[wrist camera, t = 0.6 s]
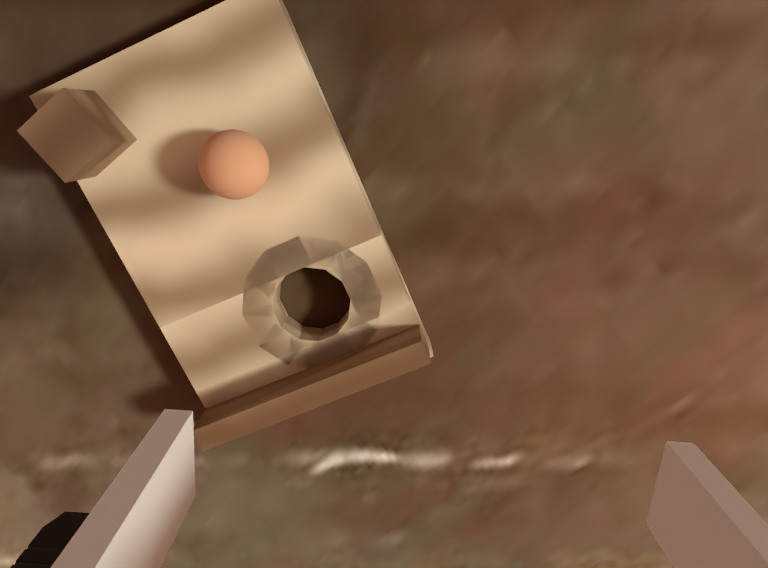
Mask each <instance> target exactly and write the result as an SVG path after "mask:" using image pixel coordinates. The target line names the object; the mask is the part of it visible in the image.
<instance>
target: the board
mask: <svg viewBox="0 0 768 568" xmlns="http://www.w3.org/2000/svg"><path fill="white" fill-rule="evenodd" d="M61 88H69V89H81V90H93V91H95V92H96V93H97V94H98V95H99V96H100V97H101V99H102V100H103V101H104V102H105V103H106V104H107V105H108V107H109V108H110V109H111V110H112V111H113V112H114V113H115V115H116V116H117V117H118V118H119V119H120V120H121V121H122V123H123V124H124V125H125V126H126V127H127V128H128V129H129V131H130V132H131V133H132V134H133V135H134V136H135V138H136V139H137V140H136V141H135V142H134V143H133V144H132V145H131V146H130V147H129V148H127V149H126V150H125V151H124V152H123V153H122V154H121V155H120V156H118V157H117V158H116V159H115V160H114V161H113V162H112V163H111V164H109V165H108V166H107V167H106V168H105V169H104V170H103V171H102V172H100V173H99V174H98V175H97V176H96V177H91V178H86V179H82V180H77V182H78V184H79V185H80V187H81V189H82V191H83V192H84V194H85V196H86V198H87V199H88V201H89V203H90V205H91V207H92V208H93V210H94V212H95V214H96V215H97V217H98V219H99V221H100V223H101V224H102V226H103V228H104V230H105V231H106V233H107V235H108V237H109V239H110V240H111V242H112V244H113V246H114V247H115V249H116V251H117V253H118V254H119V256H120V258H121V260H122V262H123V263H124V265H125V267H126V269H127V270H128V272H129V274H130V276H131V278H132V279H133V281H134V283H135V285H136V286H137V288H138V290H139V292H140V294H141V295H142V297H143V299H144V301H145V302H146V304H147V306H148V308H149V309H150V311H151V313H152V315H153V317H154V318H155V320H156V322H157V324H158V325H159V327H160V329H161V331H162V333H163V334H164V336H165V338H166V340H167V341H168V343H169V345H170V347H171V349H172V350H173V352H174V354H175V356H176V357H177V359H178V361H179V363H180V365H181V366H182V368H183V370H184V372H185V373H186V375H187V377H188V379H189V380H190V382H191V384H192V386H193V388H194V389H195V391H196V393H197V395H198V396H199V398H200V400H201V402H202V404H203V405H204V407H205V411H204V412H203V414H202V415H201V417H200V418H199V420H198V422H197V423H196V425H195V426H194V428H193V430H194V437H195V438H196V440H197V442H198V444H199V445H200V447H201V449H202V450H203V451H206V450H208V449H211V448H213V447H216V446H219V445H221V444H224V443H226V442H229V441H232V440H234V439H237V438H239V437H242V436H244V435H247V434H250V433H252V432H255V431H257V430H260V429H263V428H265V427H268V426H270V425H273V424H276V423H278V422H281V421H283V420H286V419H288V418H291V417H294V416H296V415H299V414H301V413H304V412H307V411H309V410H312V409H314V408H317V407H320V406H322V405H325V404H327V403H330V402H332V401H335V400H338V399H340V398H343V397H345V396H348V395H351V394H353V393H356V392H358V391H361V390H364V389H366V388H369V387H371V386H374V385H376V384H379V383H382V382H384V381H387V380H389V379H392V378H395V377H397V376H400V375H402V374H405V373H408V372H410V371H413V370H415V369H418V368H420V367H423V366H426V365H428V364H431V357H433V352H432V347H431V342H430V340H429V338H428V335H427V333H426V331H425V328H424V326H423V324H422V321H421V319H420V317H419V314H418V312H417V310H416V308H415V305H414V303H413V301H412V298H411V296H410V294H409V291H408V289H407V287H406V284H405V282H404V280H403V277H402V275H401V273H400V271H399V268H398V266H397V264H396V261H395V259H394V257H393V254H392V252H391V250H390V247H389V245H388V243H387V241H386V238H385V236H384V234H383V231H382V229H381V227H380V224H379V222H378V220H377V217H376V215H375V213H374V211H373V208H372V206H371V204H370V201H369V199H368V197H367V194H366V192H365V190H364V187H363V185H362V183H361V181H360V178H359V176H358V174H357V171H356V169H355V167H354V164H353V162H352V160H351V157H350V155H349V153H348V151H347V148H346V146H345V144H344V141H343V139H342V137H341V134H340V132H339V130H338V127H337V125H336V123H335V120H334V118H333V116H332V114H331V111H330V109H329V107H328V104H327V102H326V100H325V97H324V95H323V93H322V90H321V88H320V86H319V84H318V81H317V79H316V77H315V74H314V72H313V70H312V67H311V65H310V63H309V60H308V58H307V56H306V54H305V51H304V49H303V47H302V44H301V42H300V40H299V37H298V35H297V33H296V30H295V28H294V26H293V24H292V21H291V19H290V17H289V14H288V12H287V10H286V7H285V5H284V3H283V0H225V1H223V2H221V3H219V4H217V5H215V6H213V7H211V8H209V9H207V10H205V11H203V12H201V13H198V14H196V15H194V16H192V17H190V18H188V19H186V20H184V21H182V22H180V23H178V24H176V25H174V26H172V27H170V28H168V29H166V30H164V31H161V32H159V33H157V34H155V35H153V36H151V37H149V38H147V39H145V40H143V41H141V42H139V43H137V44H135V45H133V46H131V47H129V48H126V49H124V50H122V51H120V52H118V53H116V54H114V55H112V56H110V57H108V58H106V59H104V60H102V61H100V62H98V63H96V64H94V65H91V66H89V67H87V68H85V69H83V70H81V71H79V72H77V73H75V74H73V75H71V76H69V77H67V78H65V79H63V80H61V81H59V82H56V83H54V84H52V85H50V86H48V87H46V88H44V89H42V90H40V91H38V92H36V93H34V94H32V95H30V96H29V97H30V98H31V100H32V102H33V104H34V105H35V107H36V109H37V111H38V110H39V109H40V108H41V107H42V106H43V105H45V104H46V103H47V102H48V101H49V100H50V99H51V98H52V97H53V96H54V95H55V94H56V93H57V92H58V91H59V90H60V89H61ZM229 129H235V130H241V131H244V132H247V133H249V134H251V135H252V136H254V137H255V138H256V139H257V140H258V141H259V142H260V143H261V144H262V145H263V147H264V148H265V150H266V153H267V155H268V159H269V174H268V177H267V180H266V182H265V184H264V185H263V187H262V188H261V189H260V190H259V191H258V192H257V193H255V194H254V195H252V196H250V197H247V198H244V199H238V200H233V199H227V198H223V197H221V196H219V195H217V194H215V193H214V192H213V191H211V190H210V189H209V188H208V187H207V186H206V184H205V183H204V181H203V179H202V177H201V175H200V172H199V166H198V159H199V154H200V151H201V148H202V146H203V145H204V143H205V142H206V141H207V140H208V139H209V138H210V137H211V136H212V135H214V134H216V133H218V132H220V131H223V130H229ZM304 267H307V268H316V269H324V270H326V271H328V272H329V273H331V274H332V275H333V276H335V277H336V278H338V279H339V280H340V281H342V283H343V285H344V287H345V289H346V291H347V293H348V295H349V298H350V309H349V310H348V311H347V313H346V314H345V315H344V317H343V318H342V319H341V320H340V322H337V323H335V324H332V325H330V326H327V327H325V328H315V327H306V326H303V325H301V324H300V323H298V322H297V321H295V320H294V319H293V318H291V317H290V316H288V314H287V312H286V310H285V308H284V306H283V304H282V302H281V300H280V289H281V281H282V280H283V278H284V277H285V275H287V274H289V273H292V272H294V271H297V270H299V269H301V268H304Z"/></svg>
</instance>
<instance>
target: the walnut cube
mask: <svg viewBox="0 0 768 568" xmlns="http://www.w3.org/2000/svg"><path fill="white" fill-rule="evenodd" d="M17 131H18V132H19V134H20V135H21V136H22V137H23V138H24V139H25V140H26V141H27V142H28V143H29V144H30V145H31V147H32V148H33V149H34V150H35V151H36V152H37V153H38V154H39V155H40V156H41V157H42V159H43V160H44V161H45V162H46V163H47V164H48V165H49V166H50V167H51V168H52V169H53V170H54V172H55V173H56V174H57V175H58V176H59V177H60V178H61V179H62V180H63V181H64V182H65V183H67V182H72V181H77V180H82V179H86V178H91V177H96V176H97V175H98V174H99V173H100V172H102V171H103V170H104V169H105V168H106V167H107V166H108V165H109V164H111V163H112V162H113V161H114V160H115V159H116V158H117V157H118V156H120V155H121V154H122V153H123V152H124V151H125V150H126V149H127V148H129V147H130V146H131V145H132V144H133V143H134V142H135V141H136V140H137V139H136V138H135V136H134V135H133V134H132V133H131V132H130V131H129V129H128V128H127V127H126V126H125V125H124V124H123V123H122V121H121V120H120V119H119V118H118V117H117V116H116V115H115V113H114V112H113V111H112V110H111V109H110V108H109V107H108V105H107V104H106V103H105V102H104V101H103V100H102V99H101V97H100V96H99V95H98V94H97V93H96V92H95V91H93V90H81V89H69V88H61V89H60V90H59V91H58V92H57V93H56V94H55V95H54V96H53V97H52V98H51V99H50V100H49V101H48V102H47V103H46V104H45V105H43V106H42V107H41V108H40V109H39V110H38V111H37V112H36V113H35V114H34V115H33V116H32V117H31V118H30V119H29V120H28V121H27V122H25V123H24V124H23V125H22V126H21V127H20V128H19V129H18V130H17Z"/></svg>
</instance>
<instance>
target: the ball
mask: <svg viewBox="0 0 768 568" xmlns="http://www.w3.org/2000/svg"><path fill="white" fill-rule="evenodd" d="M198 166H199V172H200V175H201V177H202V179H203V181H204V183H205V184H206V186H207V187H208V188H209V189H210V190H211V191H213V192H214V193H215V194H217V195H219V196H221V197H223V198H227V199H233V200H238V199H244V198H247V197H250V196H252V195H254V194H255V193H257V192H258V191H259V190H260V189H261V188H262V187H263V185H264V184H265V182H266V180H267V177H268V174H269V159H268V155H267V153H266V150H265V148H264V147H263V145H262V144H261V143H260V142H259V141H258V140H257V139H256V138H255V137H254V136H252V135H251V134H249V133H247V132H244V131H241V130H235V129H229V130H223V131H220V132H218V133H216V134H214V135H212V136H211V137H210V138H209V139H208V140H207V141H206V142H205V143H204V145H203V146H202V148H201V151H200V154H199V159H198Z"/></svg>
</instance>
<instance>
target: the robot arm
mask: <svg viewBox="0 0 768 568" xmlns="http://www.w3.org/2000/svg"><path fill="white" fill-rule="evenodd" d="M194 498H195V466H194V430H193V411H189V410H173V409H164V411H163V412H162V414H161V415H160V416H159V418H158V419H157V421H156V422H155V423H154V425H153V426H152V428H151V429H150V430H149V432H148V433H147V434H146V436H145V437H144V439H143V440H142V441H141V443H140V444H139V446H138V447H137V448H136V450H135V451H134V453H133V454H132V455H131V457H130V458H129V459H128V461H127V462H126V464H125V465H124V466H123V468H122V469H121V471H120V472H119V473H118V475H117V476H116V477H115V479H114V480H113V482H112V483H111V484H110V486H109V487H108V489H107V490H106V491H105V493H104V494H103V496H102V497H101V498H100V500H99V501H98V502H97V504H96V505H95V507H94V508H93V509H92V511H91V512H90V513H78V512H64V513H63V514H61V515H60V516H59V517H57V518H56V519H54V520H53V521H51V522H50V523H48V524H47V525H46V526H44V527H43V528H42V529H41V530H40V532H39V533H38V534H37V535H36V537H35V538H34V539H33V540H32V542H31V543H30V544H29V545H28V549H25V550H24V552H23V553H22V554H21V555H20V556H19V558H18V559H17V560H16V563H15V565H12V566H11V568H161V566H162V564H163V562H164V560H165V558H166V556H167V554H168V551H169V549H170V547H171V545H172V543H173V541H174V539H175V537H176V535H177V533H178V531H179V529H180V527H181V525H182V523H183V520H184V518H185V516H186V514H187V512H188V510H189V508H190V506H191V504H192V502H193V500H194ZM646 524H647V526H648V527H649V529H650V531H651V532H652V534H653V535H654V537H655V539H656V540H657V542H658V543H659V545H660V547H661V548H662V550H663V552H664V553H665V555H666V556H667V558H668V560H669V561H670V563H671V564H672V566H673V568H768V525H767V523H766V522H765V521H764V520H763V519H762V518H761V517H760V516H759V515H758V514H757V512H756V511H755V510H754V509H753V508H752V507H751V506H750V505H749V504H748V502H747V501H746V500H745V499H744V498H743V497H742V496H741V495H740V494H739V493H738V491H737V490H736V489H735V488H734V487H733V486H732V485H731V484H730V483H729V482H728V480H727V479H726V478H725V477H724V476H723V475H722V474H721V473H720V472H719V470H718V469H717V468H716V467H715V466H714V465H713V464H712V463H711V462H710V461H709V459H708V458H707V457H706V456H705V455H704V454H703V453H702V452H701V451H700V450H699V448H698V447H697V446H696V445H695V444H694V443H687V442H671V441H666V445H665V449H664V453H663V457H662V461H661V465H660V469H659V473H658V477H657V481H656V486H655V490H654V494H653V498H652V502H651V506H650V510H649V514H648V518H647V522H646Z"/></svg>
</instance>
